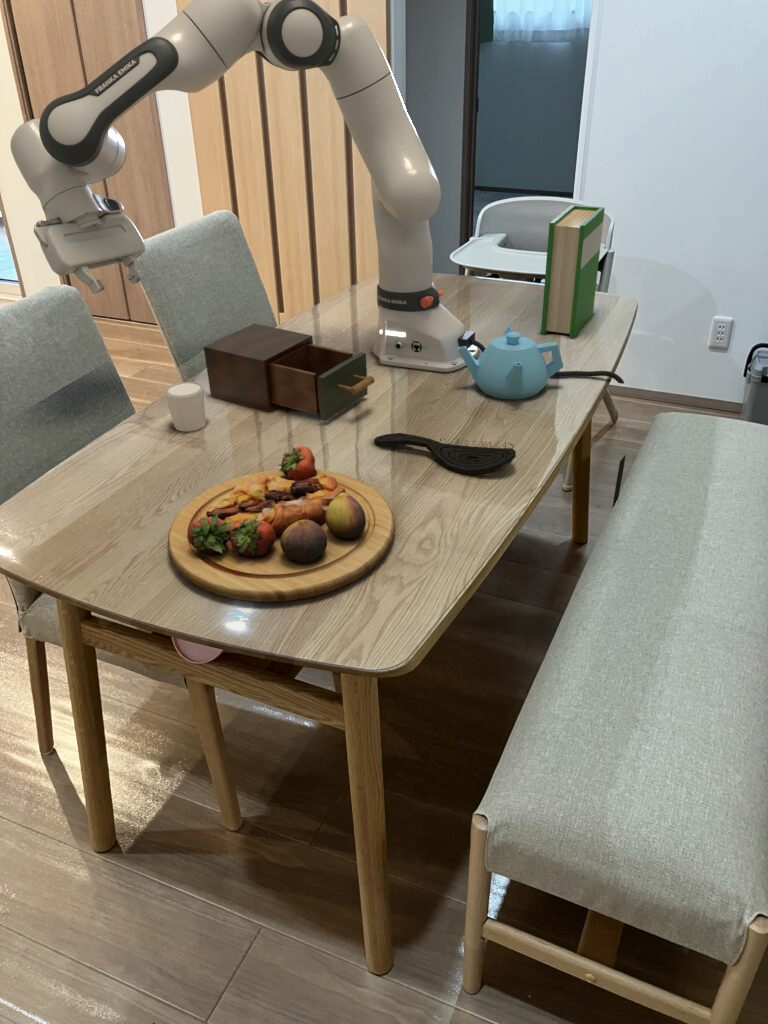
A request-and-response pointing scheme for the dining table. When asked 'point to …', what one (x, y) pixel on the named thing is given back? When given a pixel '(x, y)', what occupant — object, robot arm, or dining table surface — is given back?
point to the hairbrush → (455, 453)
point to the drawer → (318, 380)
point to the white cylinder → (186, 405)
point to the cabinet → (248, 363)
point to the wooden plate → (281, 532)
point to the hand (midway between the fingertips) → (118, 286)
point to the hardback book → (571, 269)
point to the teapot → (512, 366)
